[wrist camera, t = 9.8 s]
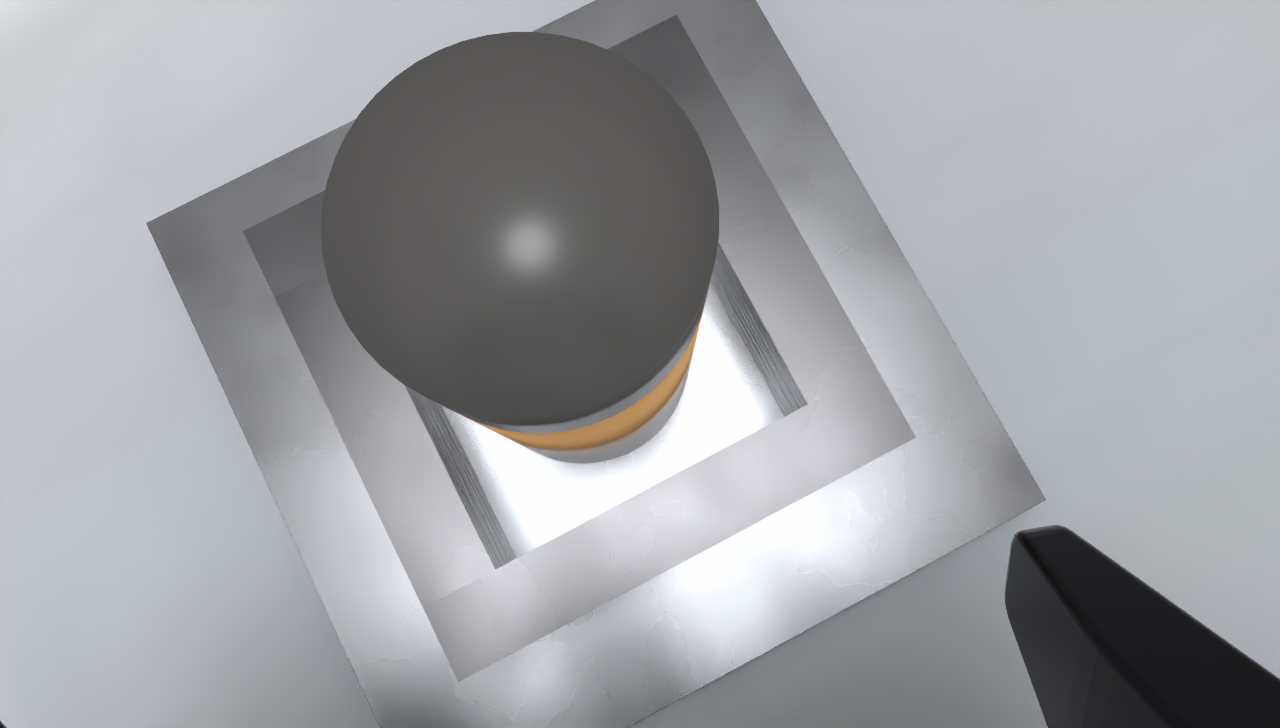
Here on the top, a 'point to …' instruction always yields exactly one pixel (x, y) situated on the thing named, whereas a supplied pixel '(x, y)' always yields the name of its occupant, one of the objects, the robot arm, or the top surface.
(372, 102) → the grey-capped orange cylinder
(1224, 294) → the top surface
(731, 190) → the grey square socket
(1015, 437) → the top surface
